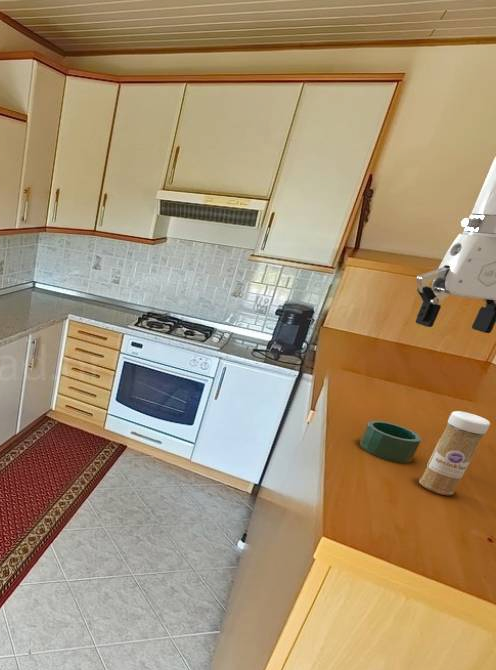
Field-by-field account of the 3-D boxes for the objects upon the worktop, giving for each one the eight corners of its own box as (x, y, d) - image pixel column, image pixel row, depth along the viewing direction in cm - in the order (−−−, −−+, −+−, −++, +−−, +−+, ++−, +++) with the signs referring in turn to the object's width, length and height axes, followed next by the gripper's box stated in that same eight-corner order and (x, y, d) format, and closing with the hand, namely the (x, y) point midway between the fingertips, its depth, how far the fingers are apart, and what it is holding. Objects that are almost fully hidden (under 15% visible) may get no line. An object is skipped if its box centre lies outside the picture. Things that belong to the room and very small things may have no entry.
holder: (405, 449, 94) (415, 428, 93) (416, 467, 88) (427, 445, 86) (356, 436, 98) (364, 416, 96) (363, 453, 91) (372, 432, 89)
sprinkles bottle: (425, 491, 80) (461, 418, 75) (413, 477, 84) (446, 407, 79) (459, 499, 79) (498, 425, 74) (445, 485, 83) (481, 414, 78)
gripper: (460, 224, 77) (416, 328, 83) (575, 235, 76) (523, 339, 82) (424, 221, 84) (386, 317, 90) (529, 231, 83) (484, 327, 89)
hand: (451, 327), depth 86 cm, fingers open, 9 cm apart
